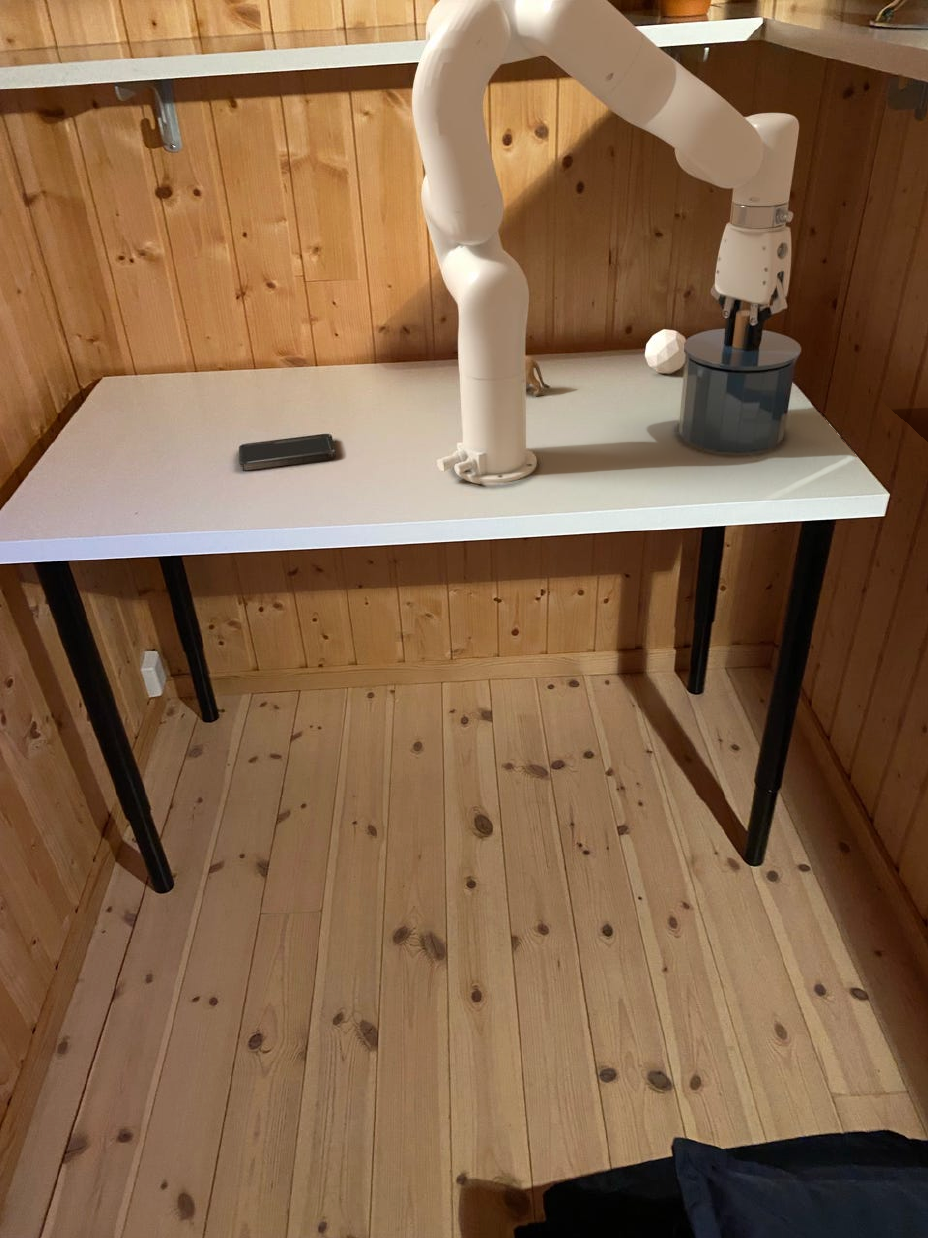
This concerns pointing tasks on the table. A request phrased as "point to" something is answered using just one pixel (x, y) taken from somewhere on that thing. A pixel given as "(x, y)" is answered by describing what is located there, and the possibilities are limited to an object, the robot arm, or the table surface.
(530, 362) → the lion figurine
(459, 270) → the robot arm
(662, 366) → the geometric ball
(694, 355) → the lid
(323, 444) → the phone
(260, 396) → the table surface
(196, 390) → the table surface
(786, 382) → the dark blue cylindrical pot
